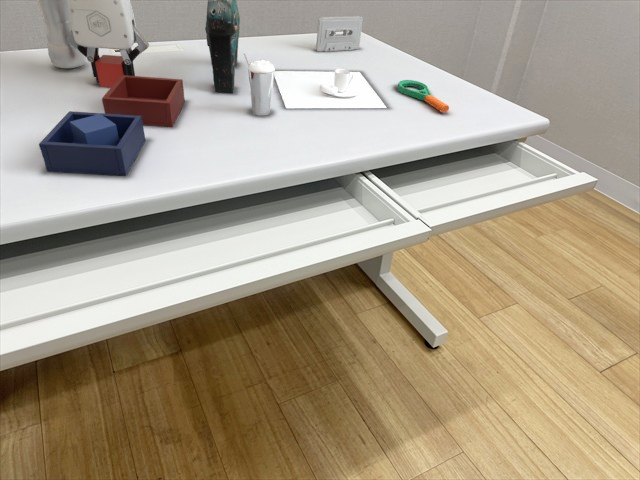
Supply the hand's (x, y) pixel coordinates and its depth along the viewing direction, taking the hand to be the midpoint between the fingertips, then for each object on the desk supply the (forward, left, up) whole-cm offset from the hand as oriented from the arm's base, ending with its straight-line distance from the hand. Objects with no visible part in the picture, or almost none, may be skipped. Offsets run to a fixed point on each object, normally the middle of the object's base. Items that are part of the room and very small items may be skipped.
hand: (115, 81), depth 91 cm
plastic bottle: (-11, +7, -1) cm, 13 cm away
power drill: (+20, +7, -1) cm, 21 cm away
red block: (0, 0, 0) cm, 0 cm away
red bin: (+9, -12, 0) cm, 15 cm away
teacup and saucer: (+41, +5, -1) cm, 41 cm away
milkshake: (+28, -9, -1) cm, 29 cm away
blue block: (+6, -28, 0) cm, 29 cm away
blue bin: (+6, -28, 0) cm, 29 cm away
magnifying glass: (+61, +3, -1) cm, 61 cm away
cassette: (+45, +32, -1) cm, 55 cm away
